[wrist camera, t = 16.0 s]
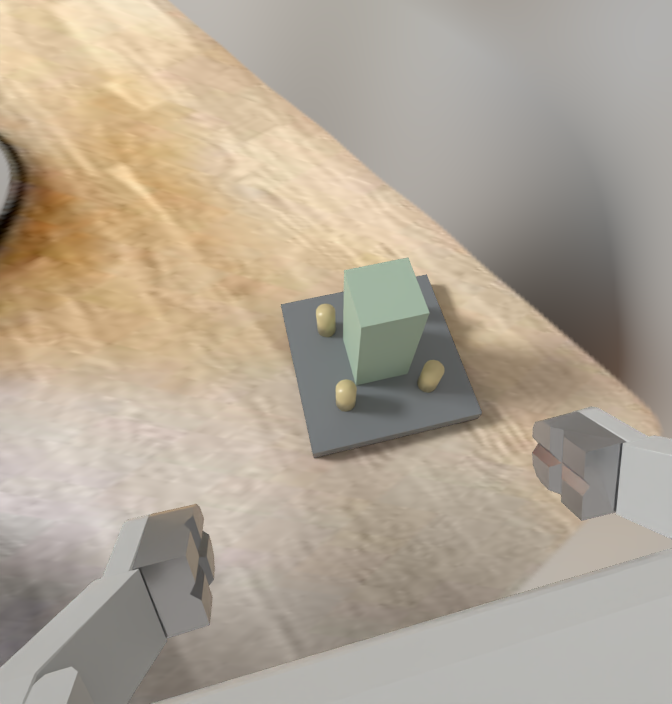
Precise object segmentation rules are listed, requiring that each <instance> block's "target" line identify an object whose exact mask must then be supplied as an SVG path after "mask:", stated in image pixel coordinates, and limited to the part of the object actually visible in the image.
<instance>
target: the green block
mask: <svg viewBox="0 0 672 704" xmlns="http://www.w3.org/2000/svg"><path fill="white" fill-rule="evenodd" d="M428 316H429V310H428V307H427V305H426V302H425V300H424V297H423V295H422V292H421V289H420V287H419V284H418V282H417V279H416V276H415V274H414V271H413V269H412V266H411V263H410V261H409V258H403V259H398V260H393V261H389V262H384V263H379V264H374V265H369V266H364V267H359V268H354V269H349V270H344V309H343V341H344V344H345V348H346V351H347V355H348V359H349V362H350V366H351V369H352V373H353V377H354V380H355V384H356V385H360V384H365V383H369V382H373V381H378V380H382V379H387V378H391V377H395V376H400V375H404V374H408V371H409V368H410V366H411V363H412V360H413V357H414V355H415V352H416V349H417V346H418V344H419V341H420V338H421V335H422V333H423V330H424V327H425V324H426V321H427V319H428Z"/></svg>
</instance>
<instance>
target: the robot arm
mask: <svg viewBox="0 0 672 704" xmlns="http://www.w3.org/2000/svg"><path fill="white" fill-rule="evenodd" d="M533 438H534V439H535V440H536V441H537V443H538V445H537V446H536V448H535V449H534V451H533V453H532V456H533V467H534V469H535V472H536V475H537V477H538V478H539V480H540V481H541V483H542V484H543V485H544V486H545V487H546V488H547V489H548V490H550V491H553V492H556V493H559V494H561V502H562V503H563V504H564V505H565V506H566V507H567V508H568V509H569V510H570V511H571V512H573V513H574V514H575V515H576V516H577V517H578V518H579V519H580V520H581V521H583V520H587V519H591V518H595V517H599V516H603V515H606V514H611V513H615V512H616V514H617V515H619V516H621V517H624V518H626V519H628V520H630V521H632V522H635V523H637V524H639V525H641V526H644V527H646V528H648V529H650V530H652V531H655V532H657V533H659V534H661V535H663V536H666V537H668V538H670V539H672V439H670V438H665V437H660V436H655V435H654V436H650V437H648V436H647V435H645V434H643V433H641V432H640V431H638V430H636V429H634V428H633V427H631V426H629V425H627V424H626V423H624V422H622V421H620V420H619V419H617V418H615V417H613V416H612V415H610V414H608V413H606V412H605V411H603V410H601V409H599V408H597V407H588V408H584V409H581V410H577V411H574V412H572V413H568V414H564V415H560V416H556V417H552V418H549V419H545V420H541V421H537V422H535V424H534V426H533ZM203 523H204V517H203V515H202V512H201V509H200V507H199V506H198V505H197V504H194V505H190V506H185V507H181V508H176V509H171V510H167V511H162V512H158V513H153V514H151V515H145V516H141V517H137V518H133V519H128V520H127V521H126V522H124V524H123V526H122V528H121V531H120V533H119V536H118V538H117V541H116V543H115V546H114V548H113V551H112V554H111V556H110V559H109V561H108V564H107V566H106V569H105V571H104V574H103V577H102V578H100V579H97V580H94V581H93V582H92V583H91V584H90V585H89V586H87V587H86V588H85V589H84V590H83V591H82V592H81V593H80V594H79V595H78V596H77V597H76V598H75V599H74V600H72V601H71V602H70V603H69V604H68V605H67V606H66V607H65V608H64V609H63V610H62V611H61V612H60V613H59V614H57V615H56V616H55V617H54V618H53V619H52V620H51V621H50V622H49V623H48V624H47V625H46V626H45V627H43V628H42V629H41V630H40V631H39V632H38V633H37V634H36V635H35V636H34V637H33V638H32V639H31V640H30V641H28V642H27V643H26V644H25V645H24V646H23V647H22V648H21V649H20V650H19V651H18V652H17V653H16V654H15V655H13V656H12V657H11V658H10V659H9V660H8V661H7V662H6V663H5V664H4V665H3V666H2V667H1V668H0V704H127V703H128V701H129V700H130V698H131V697H132V695H133V694H134V692H135V691H136V689H137V687H138V686H139V684H140V683H141V681H142V680H143V678H144V676H145V675H146V673H147V672H148V670H149V669H150V667H151V665H152V664H153V662H154V661H155V659H156V658H157V656H158V655H159V653H160V651H161V650H162V648H163V647H164V645H165V644H166V642H167V638H170V637H173V636H176V635H179V634H183V633H186V632H189V631H192V630H195V629H199V628H202V627H205V626H208V625H210V617H211V607H212V594H211V591H210V588H209V585H210V584H211V583H212V581H213V580H214V571H215V565H214V553H213V548H212V543H211V540H210V536H209V534H207V533H205V532H204V531H203ZM151 704H672V548H670V549H667V550H663V551H660V552H657V553H653V554H650V555H647V556H643V557H640V558H637V559H633V560H630V561H626V562H623V563H620V564H616V565H613V566H609V567H606V568H603V569H599V570H596V571H592V572H590V573H586V574H582V575H579V576H576V577H572V578H569V579H566V580H562V581H559V582H555V583H552V584H549V585H546V586H542V587H538V588H535V589H532V590H528V591H525V592H522V593H518V594H515V595H512V596H508V597H505V598H502V599H498V600H495V601H492V602H488V603H485V604H482V605H478V606H475V607H472V608H468V609H465V610H462V611H458V612H455V613H452V614H448V615H445V616H442V617H438V618H435V619H432V620H428V621H425V622H422V623H418V624H415V625H412V626H408V627H405V628H402V629H398V630H395V631H392V632H388V633H385V634H382V635H378V636H375V637H372V638H368V639H365V640H362V641H358V642H355V643H352V644H348V645H345V646H341V647H338V648H335V649H331V650H328V651H325V652H321V653H318V654H315V655H311V656H308V657H305V658H301V659H298V660H295V661H291V662H288V663H285V664H281V665H278V666H275V667H271V668H268V669H265V670H261V671H258V672H254V673H251V674H248V675H244V676H241V677H238V678H234V679H231V680H228V681H224V682H221V683H218V684H214V685H211V686H208V687H204V688H201V689H198V690H194V691H191V692H188V693H184V694H181V695H178V696H174V697H171V698H167V699H164V700H161V701H157V702H154V703H151Z"/></svg>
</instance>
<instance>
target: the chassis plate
mask: <svg viewBox="0 0 672 704" xmlns="http://www.w3.org/2000/svg"><path fill="white" fill-rule="evenodd" d="M416 279H417V282H418V284H419V287H420V289H421V292H422V295H423V297H424V300H425V302H426V305H427V307H428V310H429V316H428V319H427V321H426V324H425V327H424V330H423V333H422V335H421V338H420V341H419V344H418V346H417V349H416V352H415V355H414V357H413V360H412V363H411V366H410V368H409V371H408V374H404V375H400V376H395V377H391V378H387V379H382V380H378V381H373V382H369V383H365V384H360V385H356V384H355V380H354V377H353V373H352V369H351V366H350V362H349V359H348V355H347V351H346V348H345V344H344V341H343V309H344V292H340V293H335V294H330V295H325V296H320V297H315V298H310V299H306V300H301V301H296V302H291V303H286V304H281V308H282V313H283V317H284V322H285V327H286V331H287V336H288V340H289V345H290V350H291V354H292V359H293V364H294V368H295V373H296V378H297V382H298V387H299V392H300V396H301V401H302V405H303V410H304V415H305V419H306V424H307V429H308V433H309V438H310V443H311V447H312V452H313V456H314V458H316V457H320V456H324V455H328V454H333V453H337V452H341V451H345V450H349V449H353V448H357V447H362V446H366V445H370V444H374V443H378V442H382V441H386V440H391V439H395V438H399V437H403V436H407V435H411V434H416V433H420V432H424V431H428V430H432V429H436V428H440V427H445V426H449V425H453V424H457V423H461V422H465V421H470V420H474V419H477V418H478V417H479V416H480V415H481V414H482V412H481V409H480V407H479V404H478V402H477V399H476V397H475V394H474V392H473V389H472V387H471V384H470V382H469V379H468V377H467V374H466V372H465V369H464V367H463V364H462V362H461V359H460V357H459V354H458V352H457V349H456V347H455V344H454V342H453V339H452V337H451V334H450V332H449V329H448V327H447V324H446V322H445V319H444V317H443V314H442V312H441V309H440V307H439V304H438V302H437V299H436V297H435V294H434V292H433V289H432V287H431V284H430V282H429V279H428V277H427V275H422V276H417V277H416Z"/></svg>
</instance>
